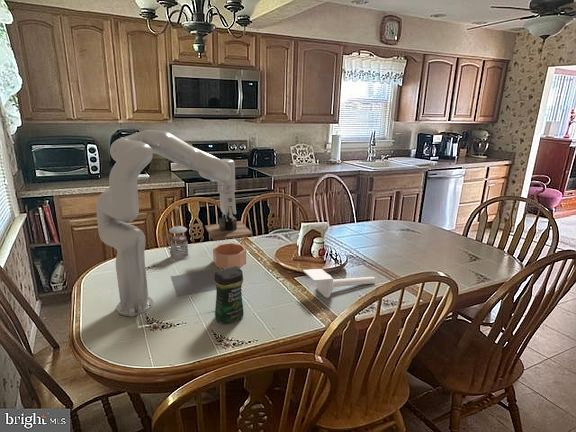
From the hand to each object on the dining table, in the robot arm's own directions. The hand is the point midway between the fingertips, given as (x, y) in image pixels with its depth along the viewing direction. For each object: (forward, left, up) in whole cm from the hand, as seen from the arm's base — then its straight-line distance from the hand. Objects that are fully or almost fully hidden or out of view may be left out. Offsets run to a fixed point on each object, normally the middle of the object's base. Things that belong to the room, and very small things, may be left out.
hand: (227, 227), depth 171 cm
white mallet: (-40, -36, -18) cm, 57 cm away
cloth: (0, 0, -2) cm, 2 cm away
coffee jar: (-43, +11, -18) cm, 48 cm away
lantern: (+15, +20, -18) cm, 31 cm away
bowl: (0, -1, -18) cm, 18 cm away
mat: (-14, +17, -18) cm, 28 cm away
